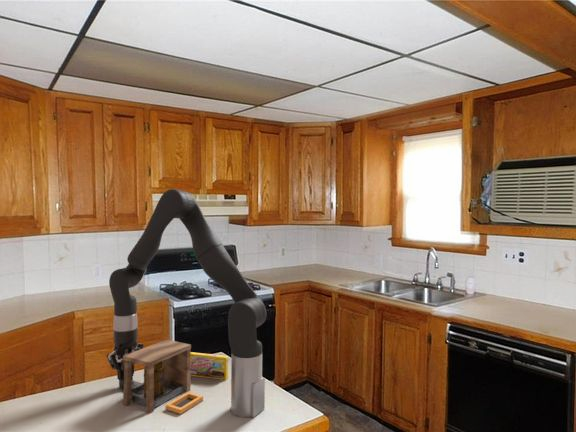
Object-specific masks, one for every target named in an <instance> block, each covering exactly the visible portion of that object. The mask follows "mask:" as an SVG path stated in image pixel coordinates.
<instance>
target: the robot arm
mask: <svg viewBox="0 0 576 432" xmlns="http://www.w3.org/2000/svg"><path fill="white" fill-rule="evenodd" d="M174 219H178V220H179V221H180V222H182V224H183V225H184V226H185V229H186V230H187V231H188V233H189V235H190V238H191V244H192V250H193V254H194V257H195V259H196V261H197V263H198V264H199V266H200V267H201V269H202V271H203V272H204V273H205V275H207V277H209V278H210V279H211V280H212V281H213V282H215V283H216V284H217V285H218V286H220V287H221V288H222V289H223V290H225V291H226V292H227V294H228V295H229V296H230V297H231V299H232V300H233V303H234V304H232V305H231V307H230V309H229V310H228V311H229V312H228V315H227V318H228V319H227V325H228V328H227V329H228V332H227V333H228V343H229V346H230V348H231V351H230V352H231V360H230V361H231V368H230V369H231V371H230V374H231V375H230V376H231V377H230V378H231V379H230V381H231V383H230V385H231V386H230V387H231V388H230V390H231V391H230V397H231V398H230V400H231V401H230V411H231V413H232V414H233V415H235V416H237V417H241V418H242V417H244V418H246V417H247V418H248V417H249V418H255V417H257V415H259V413H261V412H263V410H265V409H266V408H265V402H266V401H265V398H266V397H265V396H266V395H265V394H266V393H265V391H266V390H265V389H266V385H265V384H266V378H265V377H263V344H262V342H261V341H260V340H258V338H257V328H259V327H260V326H262V325H263V324H264V323H265V322H266V320H267V315H268V314H267V312H268V311H267V309H266V305H265V303H264V302H263V300H262V299H261V297H259V295H258V294H257V292H255V290H254V289H253V288H252V287H251V286H250V284H249V283H248V281H247V280H246V279H245V278H244V276H243V274H242V273H241V271H240V270H239V268H238V267H237V265H236V264H235V262H234V261H233V259H232V257H231V256H230V254H229V252H228V251H227V249H226V248H225V246H224V245H223V243H222V242H221V240H220V239H219V238H218V236H217V234H216V233H215V231H214V230H213V228H212V226H211V225H210V224H209V223H208V220H207V219H206V217H205V214H204V213H203V212H202V209H201V207H200V205H199V203H198V201H197V200H196V197H195V196H194V195H193V194H191V192H189V191H186V190H181V189H176V188H175V189H174V188H172V189H168V190H166V191H164V192H163V193H162V195H161V197H160V198H159V199H158V202H157V203H156V206H155V209H154V210H153V213H152V214H151V217H150V219H149V220H148V223H147V225H146V227H145V229H144V231H143V233H142V235H141V236H140V237H139V239H138V240H137V242H136V244H135V245H134V246H133V248H132V249H131V250H130V252H129V254H128V255H127V262H128V264H127V265H126V266H125V267H123V268H117V269H115V270H114V271H113V272H111V274H110V276H109V281H108V284H109V288H110V293H111V296H112V300H113V304H114V307H113V343H114V347H113V351H112V352H111V353H107V354H106V358H107V361H108V362H109V366H110V367H111V369H113V370H116V374H117V379H118V381H119V380H120V381H123V380H124V360H123V356H124V355H127V354H130V353H132V352H135V351H137V350H140V349H143V348H144V345H145V344H143V343H141V342H140V343H139V342H137V341H138V338H139V337H138V332H139V331H138V326H139V325H138V324H139V323H138V322H139V320H138V314H137V313H138V310H137V305H138V304H137V303H138V302H137V298H136V296H135V295H131V294H130V289H131V288H134V287H136V286H137V285H138V284H139V283H140V282H141V280H142V279H143V278H144V275H145V273H146V270H147V267H148V266H149V265H150V263H151V261H152V260H153V258H154V257H155V256H156V255H157V252H158V251H159V249H160V247H161V243H162V237H163V234H164V231H165V229H166V228H167V226H168V225H169V224H170V223H171V222H172V221H173V220H174ZM120 365H121V366H120ZM135 365H136V363H134V362H133V375H134V374H135Z"/></svg>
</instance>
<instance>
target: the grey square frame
mask: <svg viewBox="0 0 576 432" xmlns="http://www.w3.org/2000/svg"><path fill="white" fill-rule="evenodd" d="M120 366H121V365H120ZM133 377H134V374H133V362H131V402H133V403H137V404H138V405H139V404H140V405H142V406H145V407H146V397H144V396H141V394H139V393H141V392H144V381H143V382H140V381H136V380H133ZM118 387H119V388H121V389H124V380H123V381H120V380H119V379H118ZM163 389H168V390H169V391H167V392H165V394H163V395H161V396H159V397H157V398H155V399H154V409H155V408H157V407H158V406H160V405H161V404H163V403H165V402H167V401H168V400H170V399H172V398H175V397H176V396H178V395H179V394H182V393H183V392H185V391H184V385H181V384H177V383H174V382H170V381H167V380H164V388H163ZM122 394H123V399H124V391H123V393H122Z"/></svg>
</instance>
